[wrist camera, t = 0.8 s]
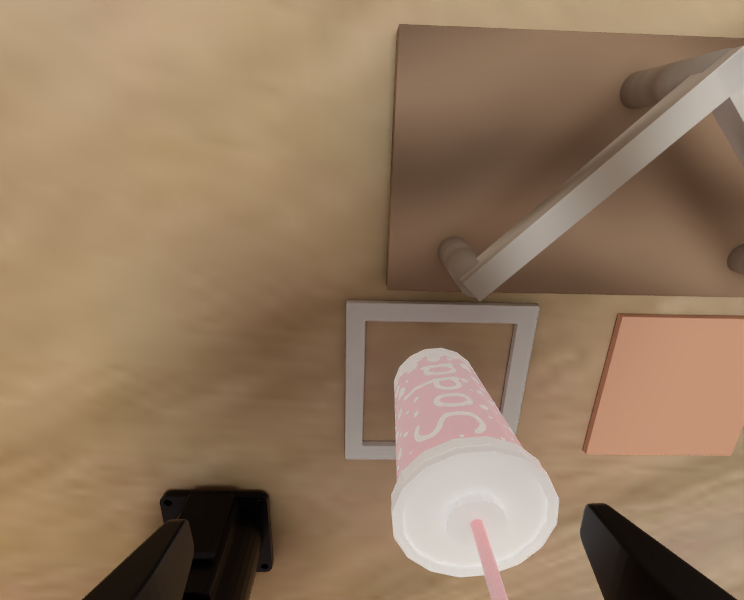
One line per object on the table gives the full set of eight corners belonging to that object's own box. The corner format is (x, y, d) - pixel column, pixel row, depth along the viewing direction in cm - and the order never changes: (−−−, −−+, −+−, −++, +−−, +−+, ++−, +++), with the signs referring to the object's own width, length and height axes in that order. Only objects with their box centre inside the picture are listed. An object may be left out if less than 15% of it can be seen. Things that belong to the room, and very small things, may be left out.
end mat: (725, 450, 26) (731, 455, 25) (582, 449, 25) (586, 454, 25) (781, 316, 22) (788, 319, 22) (618, 313, 22) (622, 316, 22)
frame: (508, 455, 25) (511, 460, 25) (345, 454, 25) (345, 459, 25) (536, 303, 22) (539, 306, 21) (346, 299, 21) (346, 302, 21)
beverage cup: (499, 340, 22) (691, 615, 9) (476, 432, 25) (607, 761, 12) (387, 330, 22) (425, 601, 9) (374, 424, 24) (389, 754, 11)
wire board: (764, 290, 22) (907, 342, 16) (385, 282, 21) (394, 333, 15) (857, 50, 18) (1090, 6, 12) (396, 31, 17) (414, -24, 12)
